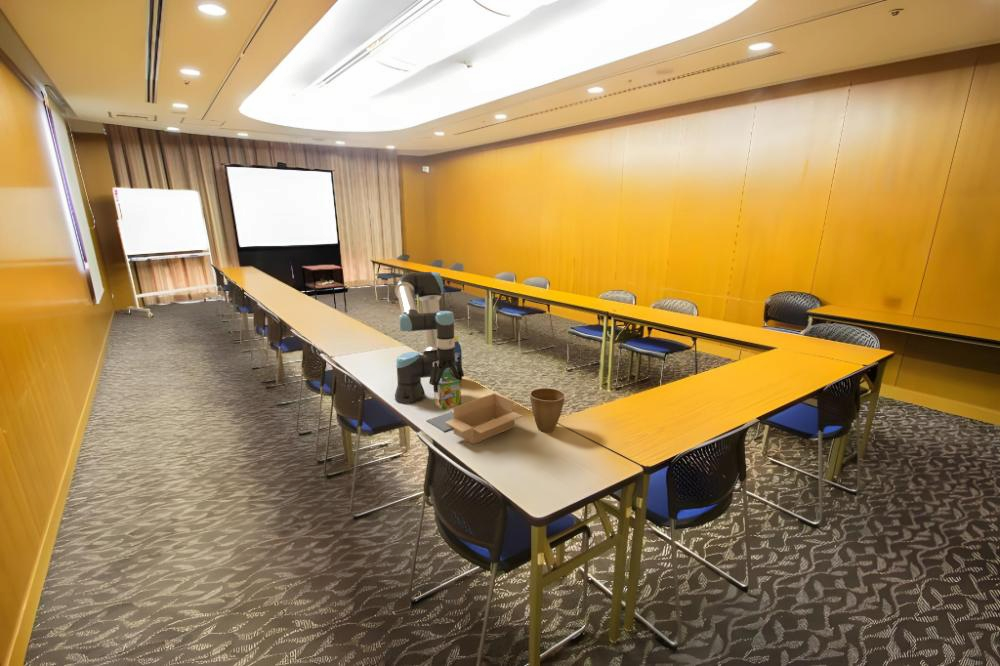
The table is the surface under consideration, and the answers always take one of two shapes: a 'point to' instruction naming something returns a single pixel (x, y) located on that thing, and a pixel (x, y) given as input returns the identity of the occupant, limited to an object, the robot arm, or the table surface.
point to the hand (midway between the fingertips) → (447, 395)
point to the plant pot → (546, 407)
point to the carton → (483, 418)
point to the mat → (442, 421)
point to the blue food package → (457, 353)
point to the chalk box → (449, 392)
